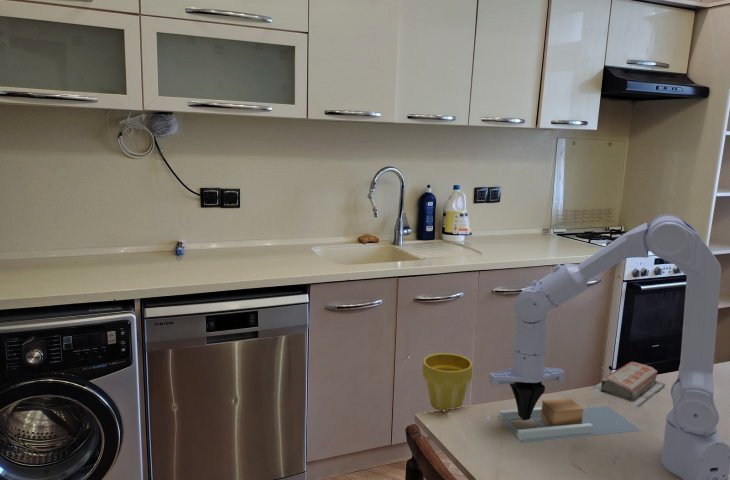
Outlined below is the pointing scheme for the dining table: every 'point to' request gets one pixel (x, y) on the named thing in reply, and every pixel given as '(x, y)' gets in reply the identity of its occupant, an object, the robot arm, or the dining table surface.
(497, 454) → the dining table surface
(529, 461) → the dining table surface
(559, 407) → the block
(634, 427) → the channel
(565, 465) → the dining table surface
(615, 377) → the packaged product
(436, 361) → the plant pot
